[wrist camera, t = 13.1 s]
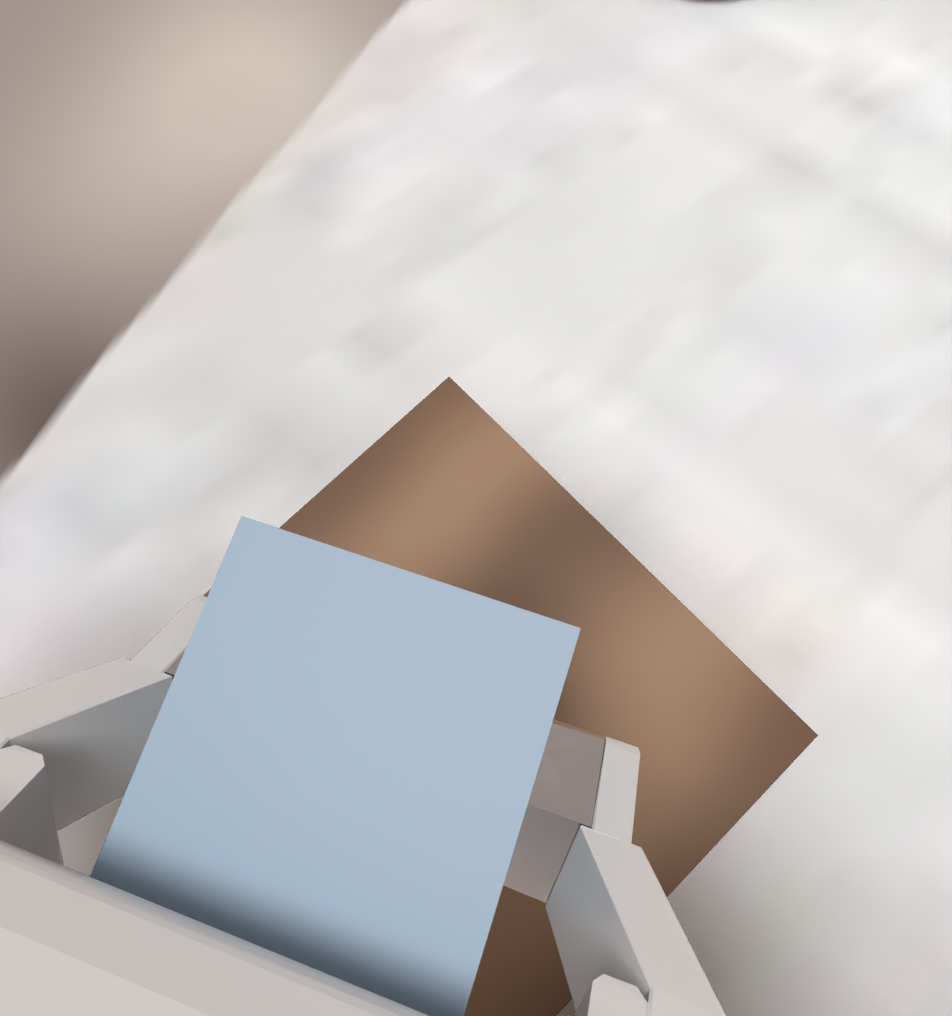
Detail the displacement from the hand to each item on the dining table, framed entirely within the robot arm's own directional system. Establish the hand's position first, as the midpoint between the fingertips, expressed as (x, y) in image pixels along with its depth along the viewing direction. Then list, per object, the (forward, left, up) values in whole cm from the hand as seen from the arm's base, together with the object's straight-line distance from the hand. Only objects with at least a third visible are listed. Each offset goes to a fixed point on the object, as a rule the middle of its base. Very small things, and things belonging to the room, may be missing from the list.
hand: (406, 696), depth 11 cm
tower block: (0, 0, -4) cm, 4 cm away
